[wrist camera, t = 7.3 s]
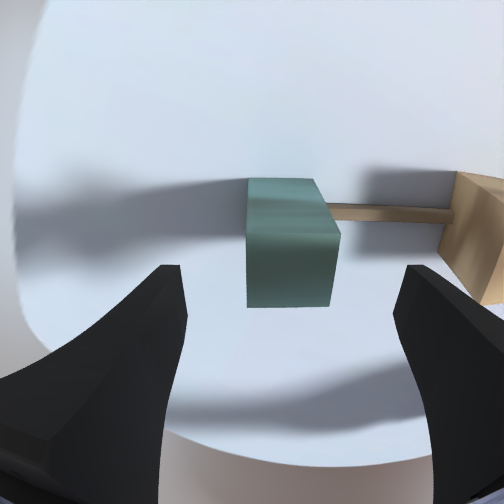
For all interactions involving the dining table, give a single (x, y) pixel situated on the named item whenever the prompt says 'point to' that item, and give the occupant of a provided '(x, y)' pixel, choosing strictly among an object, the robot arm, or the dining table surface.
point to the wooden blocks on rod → (328, 235)
